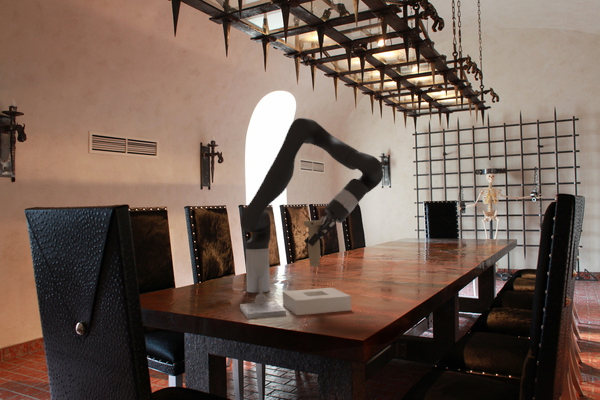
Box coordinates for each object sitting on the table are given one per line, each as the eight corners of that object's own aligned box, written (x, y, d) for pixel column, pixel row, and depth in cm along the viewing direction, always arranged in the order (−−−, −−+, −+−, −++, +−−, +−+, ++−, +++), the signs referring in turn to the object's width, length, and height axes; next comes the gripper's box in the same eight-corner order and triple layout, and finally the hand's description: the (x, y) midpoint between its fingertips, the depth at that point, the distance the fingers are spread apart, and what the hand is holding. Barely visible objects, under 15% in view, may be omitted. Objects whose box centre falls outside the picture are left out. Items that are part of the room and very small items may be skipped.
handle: (323, 267, 156) (321, 220, 156) (303, 267, 158) (302, 221, 158) (325, 265, 161) (323, 220, 161) (306, 265, 162) (305, 220, 162)
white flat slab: (240, 308, 160) (239, 304, 160) (275, 305, 163) (275, 301, 163) (247, 318, 145) (247, 313, 145) (286, 315, 148) (286, 310, 148)
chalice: (273, 299, 174) (272, 250, 175) (267, 303, 168) (266, 251, 168) (254, 299, 176) (253, 250, 177) (248, 303, 170) (246, 252, 170)
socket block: (283, 304, 165) (282, 291, 165) (332, 300, 170) (332, 287, 170) (296, 315, 148) (295, 300, 148) (351, 310, 152) (350, 296, 152)
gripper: (327, 198, 168) (294, 235, 165) (341, 197, 155) (305, 237, 151) (341, 213, 170) (310, 249, 166) (357, 213, 156) (322, 253, 153)
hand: (308, 243), depth 159 cm, fingers closed on handle, 3 cm apart
